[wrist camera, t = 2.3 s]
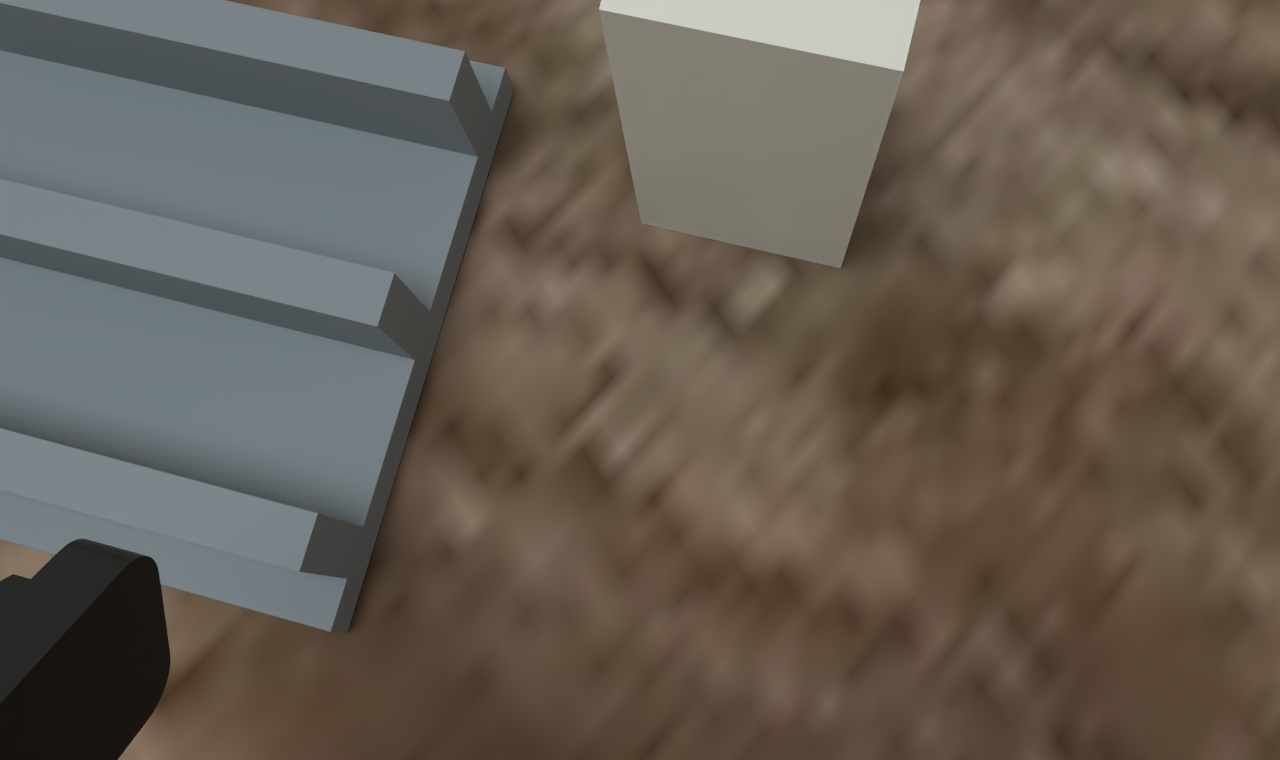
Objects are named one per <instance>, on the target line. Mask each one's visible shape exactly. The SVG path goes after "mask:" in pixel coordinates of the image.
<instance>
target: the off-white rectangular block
mask: <svg viewBox="0 0 1280 760" xmlns="http://www.w3.org/2000/svg"><path fill="white" fill-rule="evenodd" d="M919 4H920V0H602V1H601V4H600V8H599V12H600V17H601V22H602V27H603V32H604V37H605V43H606V48H607V53H608V58H609V63H610V68H611V73H612V78H613V83H614V88H615V93H616V98H617V103H618V108H619V113H620V118H621V123H622V128H623V133H624V138H625V143H626V149H627V154H628V159H629V164H630V169H631V174H632V179H633V184H634V189H635V194H636V199H637V204H638V209H639V214H640V219H641V224H646V225H650V226H655V227H659V228H663V229H668V230H672V231H677V232H681V233H685V234H690V235H694V236H699V237H703V238H707V239H712V240H716V241H721V242H725V243H730V244H734V245H738V246H743V247H747V248H752V249H756V250H760V251H765V252H769V253H774V254H778V255H783V256H787V257H791V258H796V259H800V260H805V261H809V262H813V263H818V264H822V265H827V266H831V267H836V268H840V269H841V266H842V263H843V259H844V256H845V253H846V250H847V247H848V244H849V241H850V238H851V234H852V231H853V228H854V225H855V222H856V219H857V216H858V213H859V209H860V206H861V203H862V200H863V197H864V194H865V191H866V188H867V184H868V181H869V178H870V175H871V172H872V169H873V166H874V162H875V159H876V156H877V153H878V150H879V147H880V144H881V141H882V137H883V134H884V131H885V128H886V125H887V122H888V119H889V116H890V112H891V109H892V106H893V103H894V100H895V97H896V94H897V91H898V87H899V84H900V81H901V78H902V75H903V72H904V68H905V63H906V59H907V55H908V51H909V46H910V42H911V38H912V34H913V29H914V25H915V21H916V17H917V12H918V8H919Z"/></svg>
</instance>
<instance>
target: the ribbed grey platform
mask: <svg viewBox="0 0 1280 760" xmlns="http://www.w3.org/2000/svg"><path fill="white" fill-rule="evenodd" d="M513 92H514V89H513V87H512V84H511V82H510V79H509V76H508V74H507V71H506V68H503V67H498V66H494V65H489V64H484V63H480V62H475V61H470V60H469V59H468V57H467V55H466V53H465V51H461V50H456V49H451V48H447V47H442V46H437V45H433V44H428V43H423V42H418V41H414V40H409V39H404V38H400V37H395V36H390V35H385V34H381V33H376V32H371V31H367V30H362V29H357V28H352V27H348V26H343V25H338V24H334V23H329V22H324V21H320V20H315V19H310V18H305V17H301V16H296V15H291V14H287V13H282V12H277V11H272V10H268V9H263V8H258V7H254V6H249V5H244V4H239V3H235V2H230V1H225V0H0V539H2V540H5V541H9V542H12V543H16V544H19V545H23V546H27V547H30V548H34V549H37V550H41V551H44V552H48V553H52V554H55V555H56V554H57V553H58V552H59V551H60V550H61V549H62V548H63V547H64V546H66V545H67V544H69V543H70V542H72V541H74V540H77V539H88V540H91V541H95V542H99V543H102V544H106V545H110V546H113V547H117V548H120V549H124V550H128V551H131V552H135V553H138V554H142V555H146V556H149V557H151V558H153V560H154V561H155V562H156V564H157V566H158V570H159V576H160V584H162V585H166V586H169V587H173V588H176V589H180V590H183V591H187V592H191V593H194V594H198V595H201V596H205V597H208V598H212V599H215V600H219V601H223V602H226V603H230V604H233V605H237V606H240V607H244V608H248V609H251V610H255V611H258V612H262V613H265V614H269V615H272V616H276V617H280V618H283V619H287V620H290V621H294V622H297V623H301V624H305V625H308V626H312V627H315V628H319V629H322V630H326V631H329V632H348V629H349V626H350V623H351V620H352V616H353V613H354V610H355V607H356V603H357V600H358V597H359V593H360V590H361V587H362V584H363V580H364V577H365V574H366V571H367V567H368V564H369V561H370V558H371V554H372V551H373V548H374V545H375V541H376V538H377V535H378V532H379V528H380V525H381V522H382V519H383V515H384V512H385V509H386V506H387V502H388V499H389V496H390V492H391V489H392V486H393V483H394V479H395V476H396V473H397V470H398V466H399V463H400V460H401V457H402V453H403V450H404V447H405V444H406V440H407V437H408V434H409V431H410V427H411V424H412V421H413V418H414V414H415V411H416V408H417V405H418V401H419V398H420V395H421V391H422V388H423V385H424V382H425V378H426V375H427V372H428V369H429V365H430V362H431V359H432V356H433V352H434V349H435V346H436V343H437V339H438V336H439V333H440V330H441V326H442V323H443V320H444V317H445V313H446V310H447V307H448V304H449V300H450V297H451V294H452V291H453V287H454V284H455V281H456V277H457V274H458V271H459V268H460V264H461V261H462V258H463V255H464V251H465V248H466V245H467V242H468V238H469V235H470V232H471V229H472V225H473V222H474V219H475V216H476V212H477V209H478V206H479V203H480V199H481V196H482V193H483V190H484V186H485V183H486V180H487V176H488V173H489V170H490V167H491V163H492V160H493V157H494V154H495V150H496V147H497V144H498V141H499V137H500V134H501V131H502V128H503V124H504V121H505V118H506V115H507V111H508V108H509V105H510V102H511V98H512V95H513Z"/></svg>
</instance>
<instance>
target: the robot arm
mask: <svg viewBox="0 0 1280 760" xmlns="http://www.w3.org/2000/svg"><path fill="white" fill-rule="evenodd" d="M169 669H170V650H169V643H168V635H167V628H166V621H165V613H164V606H163V599H162V591H161V584H160V576H159V570H158V566H157V564H156V562H155V561H154V560H153V558H151V557H149V556H146V555H142V554H138V553H135V552H131V551H128V550H124V549H120V548H117V547H113V546H110V545H106V544H102V543H99V542H95V541H91V540H88V539H77V540H74V541H72V542H70V543H69V544H67V545H66V546H64V547H63V548H62V549H61V550H60V551H59V552H58V553H57V554H56V555H55V556H54V557H53V558H52V559H51V560H50V561H49V562H48V563H47V564H46V565H45V566H44V567H43V568H42V569H41V570H40V571H39V572H38V573H37V574H36V575H35V576H34V577H33V578H32V579H28V578H24V577H21V576H17V575H14V574H13V575H11V576H9V577H7V578H5V579H4V580H2V581H0V760H118V758H119V757H120V756H121V754H122V753H123V752H124V750H125V749H126V748H127V746H128V745H129V744H130V743H131V741H132V740H133V739H134V737H135V736H136V735H137V733H138V732H139V731H140V729H141V728H142V727H143V725H144V724H145V723H146V722H147V720H148V719H149V717H150V716H151V715H152V713H153V711H154V710H155V708H156V706H157V704H158V702H159V700H160V698H161V696H162V694H163V691H164V688H165V685H166V682H167V679H168V675H169Z"/></svg>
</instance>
